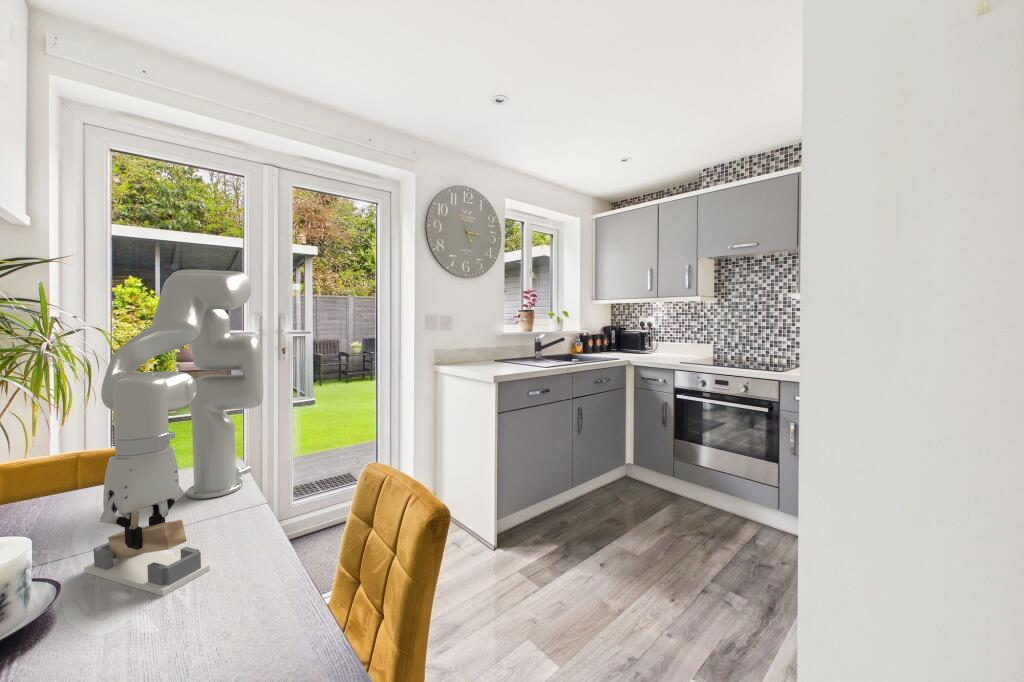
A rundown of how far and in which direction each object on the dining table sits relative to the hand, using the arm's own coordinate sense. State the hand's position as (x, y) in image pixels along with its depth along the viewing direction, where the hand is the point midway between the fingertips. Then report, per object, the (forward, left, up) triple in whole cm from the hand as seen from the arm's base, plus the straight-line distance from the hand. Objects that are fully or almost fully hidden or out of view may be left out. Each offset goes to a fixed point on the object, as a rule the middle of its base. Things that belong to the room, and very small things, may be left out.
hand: (146, 542), depth 79 cm
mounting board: (0, 0, -6) cm, 6 cm away
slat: (0, +1, -1) cm, 2 cm away
